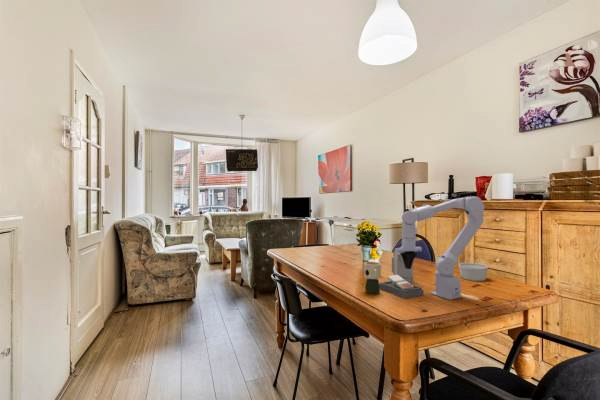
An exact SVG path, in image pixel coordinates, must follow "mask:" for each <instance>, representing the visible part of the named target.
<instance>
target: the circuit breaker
mask: <svg viewBox="0 0 600 400" xmlns="http://www.w3.org/2000/svg"><path fill="white" fill-rule="evenodd" d="M391 272H392V274H393V275H399V276H400V277H401V278H403V279H405V280H406V281H407V282H409V283H410V284H411V285H414V284H413V283H414V278H415V277H414V262H413V263H412V266H411V269H407V268H405V264H404V261H403V258H402V256H401V254H400V253H395V250H393V256H392V257H391Z"/></svg>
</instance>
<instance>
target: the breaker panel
mask: <svg viewBox="0 0 600 400" xmlns="http://www.w3.org/2000/svg"><path fill="white" fill-rule="evenodd" d="M413 286H414V287H413V288H411V289H406V290H402V289H401V288H400V287H398V286H397V285H395V284H394V283H393V282H392V281H390V280H389V281H383V282H379V287H380V291H384V292H387V293H389V294H392V295H395V296H398V297H401V298H402V299H410V298H414V297H415V298H416V297H418V296H419V297H420V296H423V295H425V294H424V293H425V292H424V290H425V289H423V287H420V286H418V285H414V284H413Z"/></svg>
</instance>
